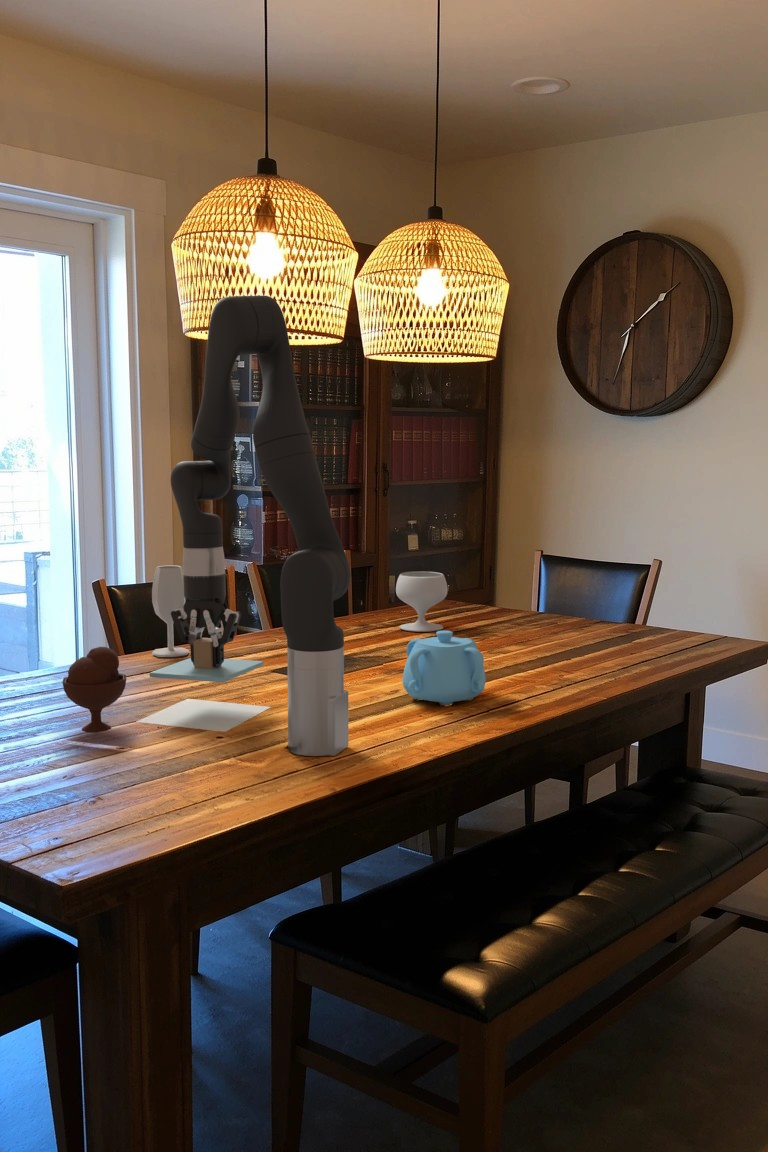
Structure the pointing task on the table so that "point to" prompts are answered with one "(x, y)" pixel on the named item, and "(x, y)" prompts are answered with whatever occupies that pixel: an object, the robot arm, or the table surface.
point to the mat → (204, 715)
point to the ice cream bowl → (95, 684)
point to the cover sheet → (207, 673)
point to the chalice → (421, 596)
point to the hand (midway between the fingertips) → (207, 665)
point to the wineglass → (168, 603)
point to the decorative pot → (444, 669)
